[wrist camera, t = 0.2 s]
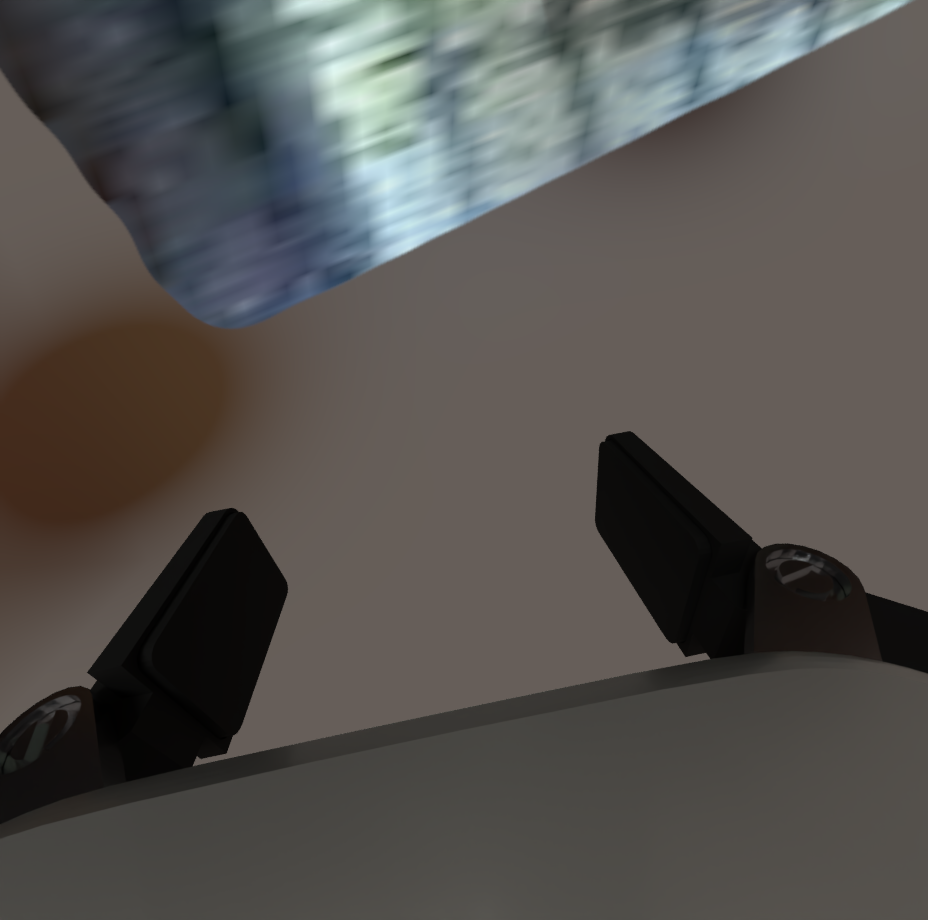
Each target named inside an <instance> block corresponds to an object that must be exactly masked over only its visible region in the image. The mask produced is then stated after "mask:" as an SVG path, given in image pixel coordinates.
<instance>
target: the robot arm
mask: <svg viewBox="0 0 928 920" xmlns="http://www.w3.org/2000/svg"><path fill="white" fill-rule="evenodd" d="M595 523H596V527H597V530H598V532H599V533H600V535H601V537H602V538H603V540H604V541H605V543H606V544H607V546H608V548H609V549H610V551H611V552H612V554H613V556H614V557H615V559H616V560H617V562H618V563H619V565H620V567H621V568H622V570H623V571H624V573H625V574H626V576H627V578H628V579H629V581H630V582H631V584H632V585H633V587H634V589H635V590H636V592H637V593H638V595H639V597H640V598H641V599H642V601H643V603H644V604H645V606H646V607H647V609H648V611H649V612H650V614H651V615H652V617H653V619H654V620H655V622H656V623H657V625H658V626H659V628H660V630H661V631H662V633H663V634H664V636H665V637H666V639H667V640H668V641H669V642H671V643H677V644H678V646H679V648H680V649H681V651H682V652H683V654H684V655H685V657H688V656H692V655H697V654H702V653H707V655H708V656H709V657H710V660H703V661H698V662H693V663H688V664H682V665H677V666H671V667H666V668H661V669H656V670H650V671H644V672H639V673H633V674H629V675H624V676H619V677H614V678H609V679H604V680H599V681H595V682H589V683H585V684H580V685H575V686H570V687H565V688H560V689H555V690H550V691H545V692H541V693H536V694H531V695H526V696H521V697H516V698H511V699H506V700H502V701H497V702H492V703H487V704H482V705H478V706H473V707H468V708H463V709H459V710H454V711H449V712H444V713H440V714H435V715H430V716H425V717H421V718H416V719H411V720H406V721H402V722H397V723H392V724H388V725H383V726H378V727H374V728H369V729H364V730H359V731H354V732H350V733H345V734H340V735H335V736H331V737H326V738H321V739H317V740H312V741H307V742H303V743H298V744H294V745H289V746H284V747H280V748H275V749H270V750H266V751H261V752H257V753H252V754H248V755H243V756H238V757H234V758H229V759H224V760H220V761H215V762H211V763H206V764H201V765H197V766H193V764H194V761H195V759H196V756H198V757H199V758H201V759H203V758H207V757H212V756H217V755H222V754H226V753H227V751H228V748H229V745H230V742H231V739H232V737H233V735H235V734H236V733H237V732H238V731H239V729H240V728H241V725H242V723H243V720H244V717H245V714H246V711H247V709H248V706H249V703H250V700H251V697H252V694H253V691H254V688H255V686H256V682H257V680H258V677H259V674H260V671H261V668H262V665H263V663H264V660H265V657H266V654H267V651H268V648H269V645H270V642H271V639H272V636H273V634H274V631H275V628H276V625H277V622H278V619H279V617H280V614H281V611H282V608H283V605H284V602H285V599H286V596H287V593H288V585H287V582H286V580H285V578H284V576H283V575H282V573H281V571H280V570H279V568H278V566H277V565H276V563H275V562H274V560H273V558H272V557H271V555H270V553H269V552H268V550H267V549H266V547H265V545H264V544H263V542H262V540H261V539H260V537H259V536H258V534H257V532H256V531H255V530H254V527H253V526H252V524H251V522H250V521H249V519H248V518H247V516H246V515H245V514H244V513H243V512H238V511H237V510H236V509H234V508H229V509H223V510H218V511H213V512H209V513H206V514H205V515H204V516H203V518H202V519H201V520H200V522H199V523H198V524H197V526H196V527H195V528H194V530H193V531H192V532H191V534H190V535H189V536H188V538H187V539H186V540H185V542H184V543H183V544H182V546H181V547H180V549H179V550H178V551H177V552H176V554H175V555H174V557H173V558H172V559H171V561H170V562H169V563H168V565H167V566H166V567H165V569H164V570H163V571H162V573H161V574H160V575H159V577H158V578H157V579H156V581H155V582H154V584H153V585H152V586H151V587H150V589H149V590H148V591H147V593H146V594H145V595H144V597H143V598H142V599H141V601H140V602H139V604H138V605H137V606H136V608H135V609H134V610H133V612H132V613H131V614H130V616H129V617H128V618H127V620H126V621H125V622H124V624H123V625H122V627H121V628H120V629H119V630H118V632H117V633H116V635H115V636H114V637H113V638H112V640H111V641H110V642H109V644H108V645H107V647H106V648H105V649H104V651H103V652H102V653H101V655H100V656H99V657H98V659H97V660H96V661H95V663H94V664H93V665H92V667H91V668H90V669H89V671H88V672H87V673H88V674H90V675H91V676H92V677H94V678H95V679H96V680H97V681H96V683H95V684H94V686H93V687H92V688H91V690H90V689H88V688H85V687H82V686H76V687H68V688H66V689H63V690H61V691H58V692H55V693H53V694H51V695H50V696H48V697H46V698H45V699H42V700H41V701H39V702H37V703H36V704H35V705H33V706H32V707H30V708H29V709H28V710H26V711H25V712H23V713H22V714H21V715H20V716H19V717H17V718H16V719H15V720H14V721H13V722H12V723H11V724H10V725H8V726H7V727H6V728H5V729H4V730H3V731H2V733H1V734H0V920H928V612H926V611H923V610H920V609H917V608H914V607H910V606H907V605H904V604H901V603H897V602H894V601H891V600H888V599H885V598H882V597H878V596H875V595H871V594H868V593H866V592H865V590H864V587H863V586H862V584H861V582H860V580H859V578H858V577H857V576H856V575H855V574H854V573H853V572H852V571H851V570H850V569H849V568H848V567H847V566H845V565H844V564H842V563H841V562H839V561H838V560H837V559H835V558H833V557H831V556H829V555H827V554H824V553H823V552H820V551H818V550H815V549H812V548H808V547H805V546H800V545H794V544H773V545H769V546H766V547H764V548H761V547H760V546H758V545H757V544H756V543H755V542H754V541H753V540H752V537H751V536H750V535H749V534H747V533H746V532H745V531H744V530H743V529H742V528H741V527H739V526H738V525H737V524H736V523H735V522H734V521H732V519H730V518H729V517H728V516H727V515H726V514H725V513H724V512H722V511H721V510H720V509H719V508H718V507H717V506H716V505H715V504H713V503H712V502H711V501H710V500H709V499H708V498H706V497H705V496H704V495H703V494H702V493H701V492H700V491H699V490H698V489H696V488H695V487H694V486H693V485H692V484H690V482H688V481H687V480H686V479H685V478H684V477H683V476H682V475H681V474H679V473H678V472H677V471H676V470H675V469H674V468H672V467H671V466H670V465H669V464H668V463H667V462H666V461H664V459H662V458H661V457H660V456H659V455H658V454H657V453H656V452H654V451H653V450H652V449H651V448H650V447H649V446H647V444H645V443H644V442H643V441H642V440H641V439H640V438H638V437H637V436H636V435H635V434H634V433H633V432H631V431H628V432H623V433H617V434H613V435H608V436H607V437H606V439H605V442H601V443H600V447H599V461H598V478H597V495H596V512H595Z"/></svg>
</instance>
